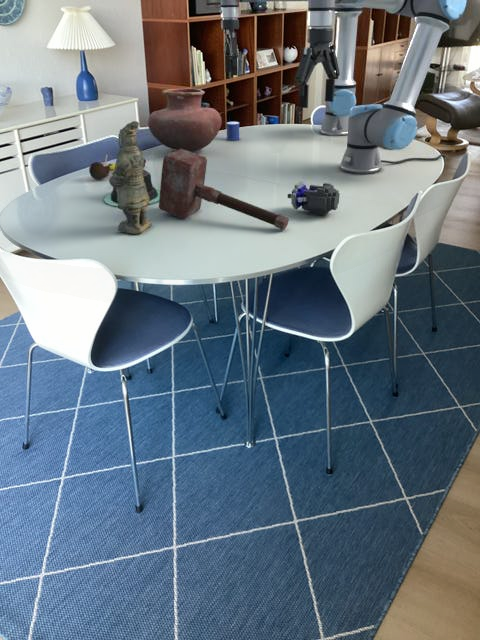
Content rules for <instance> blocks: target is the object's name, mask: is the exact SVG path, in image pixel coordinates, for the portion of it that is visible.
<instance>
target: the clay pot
mask: <svg viewBox="0 0 480 640" xmlns="http://www.w3.org/2000/svg"><path fill="white" fill-rule="evenodd" d="M205 92H206V91H204V90H202V89H199V88H193V87H191V88H189V87H187V88H172V89H163V90H162V92H161V93H162V94H163V95H165V97H166V99H167V105H166V107H165V108H163V109H159V110H155V111H153V112H151V113H150V114H149V116H148V117H147V119H148V120H147V127H148V129H149V131H150V133H151V135H152V136H153V137H154V138H155V139H156V140H157V142H159V143H160V144H161V145H163V146H165V147H166V148H169V149H171V150H174V151H177V150H179V149H184V150H187V151H190V152H192V153H194V152H197V151H201V150H202V149H204V148H206V147H207V146H209V145H210V144H211V143H212V142H213V141H214V139H215V138H216V137H217V136H218V133H219V131H220V129H221V127H222V122H223V120H222V116H221V114H220V113H219V112H218V111H217V110H216V109H215V108H212V107H202V99H203V96H204V94H205Z"/></svg>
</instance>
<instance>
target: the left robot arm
mask: <svg viewBox="0 0 480 640" xmlns="http://www.w3.org/2000/svg"><path fill="white" fill-rule="evenodd" d="M219 1H220V9H219V14H220V18H221V21H220V28H221V30H222V31H223V32H224V42H223V54H224V70H225V71H224V72H225V73H230V76H232V77H233V76H238V58H239V50H238V42H237V41H238V40H237V32H236V31H235V30H239V29H240V21H239V19H238V18H239V17H240V9H239V8H240V7H239V3H266V2H267V3H269V2H274V3H275V2H308V1H307V0H219ZM362 13H363V7H356V6H345V5H335V6H334V16H336V27H335V43H334V45H335V46H336V57H337V62H338V67H339V72H340V75H339V77H338V79H335V87H334V99H333V102H328V101H325V109H324V110H325V111H324V118H323V121H322V122H321V126H320V130H319V132H320V134H322V135H325V136H332V137H333V136H335V137H340V136H341V137H342V136H348V121H349V119H348V118H349V114H350V109H351V108H352V107H354V106H357V105H356V104H357V97H356V90H357V82H356V81H355V80H354V70H355V57H356V46H357V45H356V44H357V32H358V21H359V16H360V15H361V14H362ZM335 72H336V71H335Z"/></svg>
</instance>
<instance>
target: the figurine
mask: <svg viewBox="0 0 480 640" xmlns="http://www.w3.org/2000/svg"><path fill="white" fill-rule="evenodd" d="M108 158H109V156H108V154H106V155H105V158H104V161H102V162H101V161H94V162H92V163H90V165H89V168H88V170H89V171H88V172H89V175H90V177H91V178H93V179H94V180H98V181H99V180H103V179H106V178H107V177H109V175H110V172H114V170H115V164H116V163H108ZM146 162H147V161H146V159H145V158H144V166H143V168H145V166H146Z"/></svg>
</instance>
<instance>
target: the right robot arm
mask: <svg viewBox="0 0 480 640" xmlns="http://www.w3.org/2000/svg"><path fill="white" fill-rule="evenodd" d="M306 2H308V3H307V10H308V12H307V27H309V28H307V30H306V42H307V43H308V44H309V47H306V46H305V47H304V46H303V47H302V49H301V57H300V61H299V64H298V67H297V70H296V73H295V77H294V83H295V84H296V85H298V96H299V99H298V100H299V104H298V107H299V108H303V109H308V108H309V91H310V88H309V87H310V85H309V84H308V83H309V81H310V78H311V76H312V74H313V71H314V69H315V67H316V66H317V65H318V64H320V63H321V65H322V67H323V69H324V71H325V74H326V76H327V78H326V79H325V92H324V93H325V95H324V102H326V101H328V102H333V99H334V87H335V79H338V77H339V75H340V72H339V67H338V62H337V57H336V46H335V43H334V44H333V43H332V42H333V38H334V29H333V28H332V27H333V26H334V24H335V13H334V6H335V5H345V6H356V7H362V8H367V9H368V8H369V9H376V10H377V9H379V10H385V11H386V12H387V13H388V14H394V15H400V16H404V17H407V18H412V19H414V22H415V24H416V28H415V30H414V33H413V35H412V39H411V41H410V44H409V47H408V49H407V52H406V55H405V58H404V59H403V63H402V65H401V69H400V71H399V74H398V77H397V79H396V81H395V85H394V88H393V90H392V93H391V95H390V99H389V100H387V101H385V102H383V105H382V104H381V103H380V104H379V103H371V104H361V105H355V106H354V107H352V108H351V109H350V114H349V118H348V119H349V121H348V135H347V137H346V139H347V140H346V149H345V151H344V154H343V156H342V158H341V162H340V170H341V171H343V172H345V173H349V174H355V175H356V174H357V175H369V174H370V175H371V174H376V173H378V172H380V171H382V163H383V164H392V165H397V164H401V163H404V162H409V161H436V160H437V161H438V160H439V159H441V158H442V157H443V158H447V156H446V155H445V154H444V153H441V154H439V155H438V156H436V157H409V158H404V159H401V160H395V161H392V160H384V159H381V155H380V150H379V147H382V148H385V149H387V150H395V151H400V150H402V149H405V148H406V147H408V146H409V145H410V144H411V143H412V142H413V141H414V139H415V137H416V135H417V132H418V121H417V119H416V115H417V111H416V109H415V105H416V103H417V100H418V98H419V95H420V92H421V90H422V87H423V85H424V83H425V79H426V77H427V74H428V71H429V69H430V67H431V64H432V61H433V59H434V56H435V53H436V50H437V48H438V45H439V43H440V40H441V37H442V35H443V34H444V33H445V32H446V31H448V30H450V26H451V24H452V21H456V20H457V19H459V18H460V17H461V16H462V15H463V14H464V12H465V9H466V6H467V2H468V1H467V0H307V1H306ZM335 71H336V72H335Z"/></svg>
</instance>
